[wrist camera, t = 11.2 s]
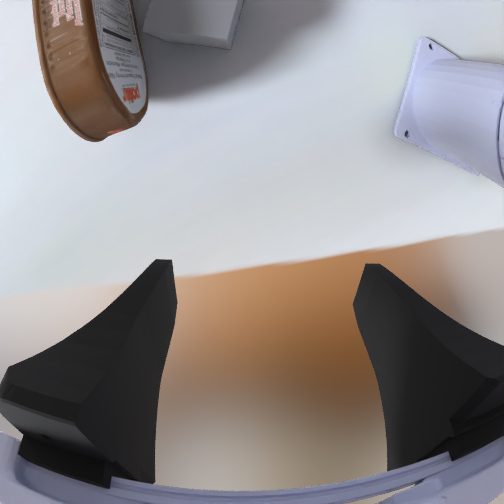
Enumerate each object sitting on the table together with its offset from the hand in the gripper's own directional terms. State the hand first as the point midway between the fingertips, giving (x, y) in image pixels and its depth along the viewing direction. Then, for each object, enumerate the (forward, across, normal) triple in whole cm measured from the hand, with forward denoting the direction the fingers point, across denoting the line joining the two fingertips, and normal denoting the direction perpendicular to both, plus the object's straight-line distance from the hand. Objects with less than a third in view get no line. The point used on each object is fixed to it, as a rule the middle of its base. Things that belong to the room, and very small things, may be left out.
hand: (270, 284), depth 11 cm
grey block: (+10, +4, -11) cm, 16 cm away
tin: (+11, +9, -12) cm, 18 cm away
